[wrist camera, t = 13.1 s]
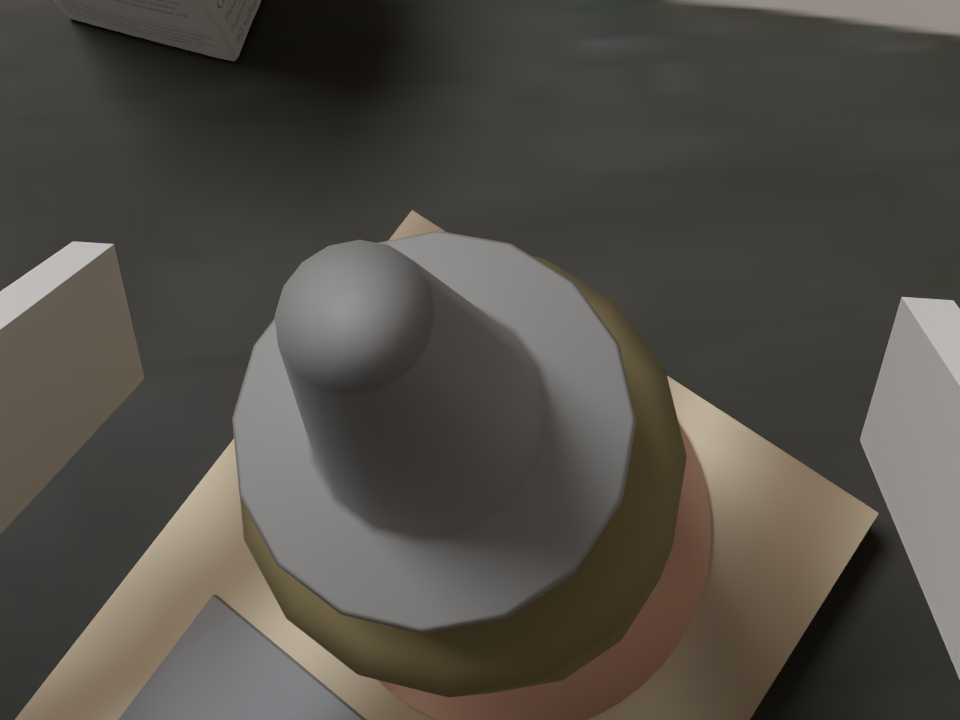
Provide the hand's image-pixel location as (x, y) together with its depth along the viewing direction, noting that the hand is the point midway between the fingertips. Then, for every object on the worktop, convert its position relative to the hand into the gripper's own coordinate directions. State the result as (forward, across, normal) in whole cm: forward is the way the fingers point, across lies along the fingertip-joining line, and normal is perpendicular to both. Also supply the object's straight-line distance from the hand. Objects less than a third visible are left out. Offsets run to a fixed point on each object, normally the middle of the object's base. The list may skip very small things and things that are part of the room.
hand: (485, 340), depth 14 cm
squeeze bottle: (+5, 0, -9) cm, 10 cm away
